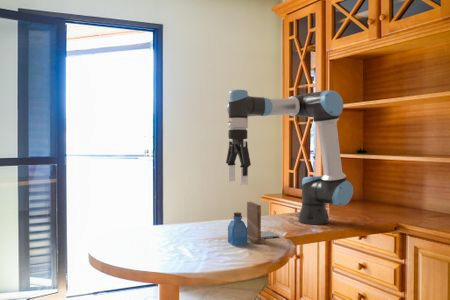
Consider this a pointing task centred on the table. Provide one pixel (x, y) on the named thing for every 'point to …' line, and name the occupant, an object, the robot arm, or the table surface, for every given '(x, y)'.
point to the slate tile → (268, 234)
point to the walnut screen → (254, 223)
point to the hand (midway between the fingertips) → (237, 182)
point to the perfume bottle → (237, 231)
